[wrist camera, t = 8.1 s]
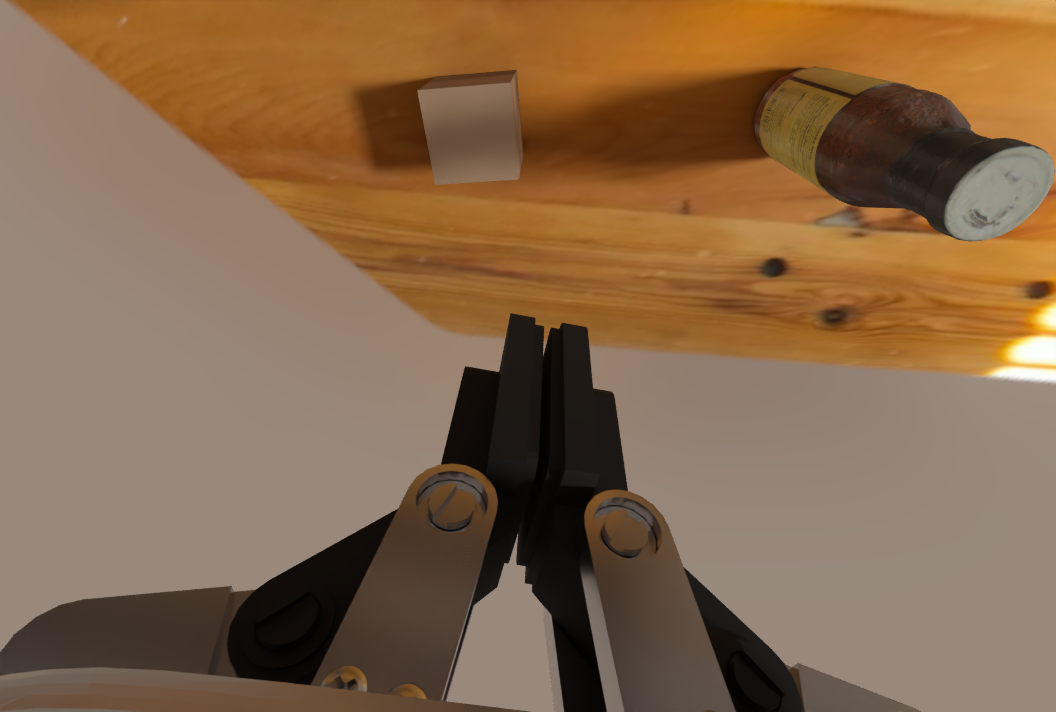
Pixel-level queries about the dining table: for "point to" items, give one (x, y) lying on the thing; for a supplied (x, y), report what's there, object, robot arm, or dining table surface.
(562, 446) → the robot arm
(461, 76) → the grey cube
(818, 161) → the sauce bottle
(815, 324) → the dining table surface
